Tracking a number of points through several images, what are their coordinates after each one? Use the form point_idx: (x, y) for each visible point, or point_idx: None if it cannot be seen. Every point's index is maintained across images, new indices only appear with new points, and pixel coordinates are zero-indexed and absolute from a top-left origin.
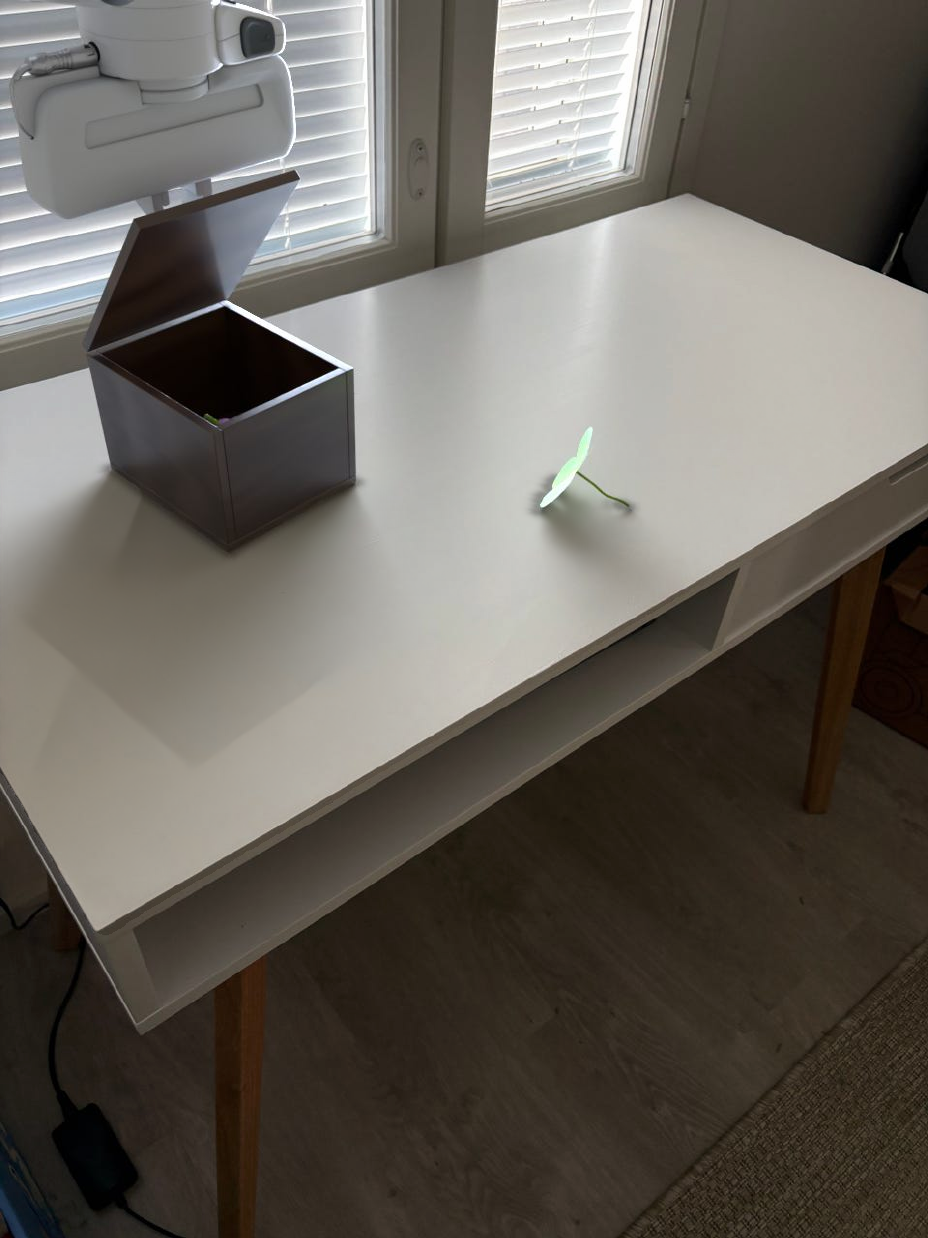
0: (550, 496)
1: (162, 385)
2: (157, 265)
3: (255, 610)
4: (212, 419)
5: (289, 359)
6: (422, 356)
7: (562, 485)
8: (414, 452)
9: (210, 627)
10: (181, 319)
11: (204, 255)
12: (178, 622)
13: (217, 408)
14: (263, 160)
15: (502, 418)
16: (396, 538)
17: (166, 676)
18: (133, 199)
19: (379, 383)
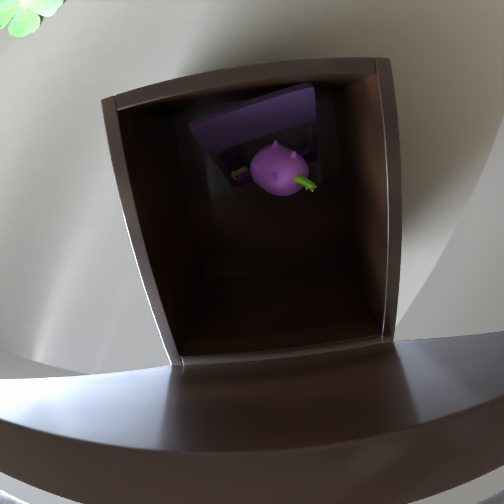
0: (51, 2)
1: (294, 303)
2: (410, 355)
3: (358, 10)
4: (306, 179)
5: (152, 219)
6: (22, 262)
7: (38, 1)
8: (90, 123)
9: (397, 21)
10: (248, 358)
11: (248, 376)
12: (415, 43)
13: (227, 282)
14: (3, 498)
15: (9, 137)
16: (188, 11)
17: (442, 11)
18: (498, 497)
19: (65, 247)
